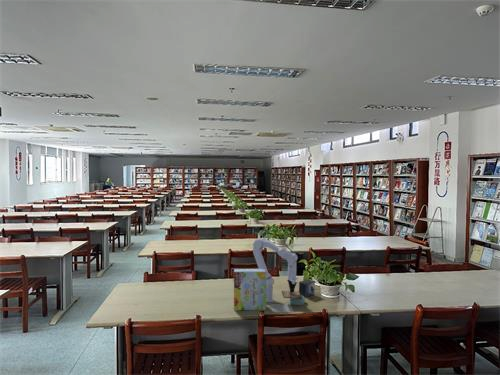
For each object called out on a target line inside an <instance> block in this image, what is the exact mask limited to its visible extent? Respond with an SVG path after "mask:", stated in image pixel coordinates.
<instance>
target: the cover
mask: <svg viewBox="0 0 500 375" xmlns="http://www.w3.org/2000/svg"><path fill="white" fill-rule="evenodd" d="M288 289H289V290H281V294H282V298H283V299H289V298H302V297H301V295H300V293H299V290H294V292H291V291H290V288H288Z"/></svg>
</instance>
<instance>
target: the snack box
mask: <svg viewBox="0 0 500 375" xmlns="http://www.w3.org/2000/svg"><path fill="white" fill-rule="evenodd" d="M233 310H234V311H266V310H267V302H266V269H259V268H234V269H233Z"/></svg>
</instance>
